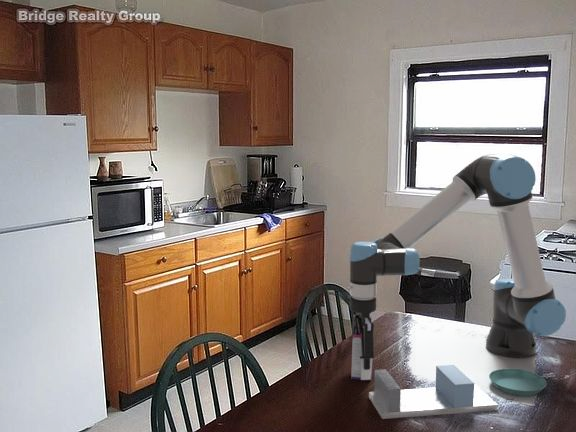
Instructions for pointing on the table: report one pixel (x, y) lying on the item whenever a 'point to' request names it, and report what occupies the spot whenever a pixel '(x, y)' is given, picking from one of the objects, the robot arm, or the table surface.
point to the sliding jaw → (455, 386)
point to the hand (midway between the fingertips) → (362, 373)
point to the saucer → (517, 381)
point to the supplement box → (357, 357)
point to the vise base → (419, 400)
